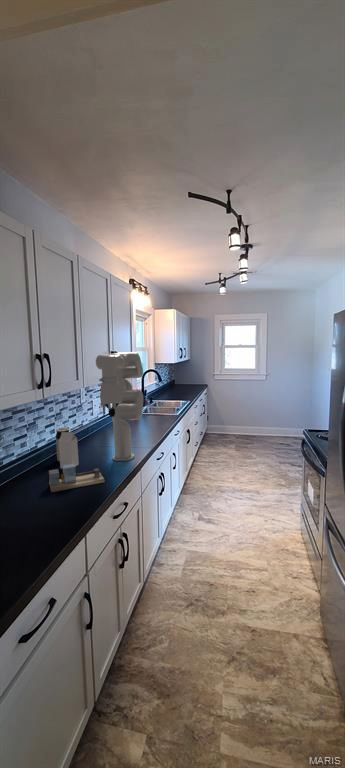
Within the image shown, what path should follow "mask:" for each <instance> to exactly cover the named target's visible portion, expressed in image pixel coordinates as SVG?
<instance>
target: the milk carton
mask: <svg viewBox="0 0 345 768" xmlns="http://www.w3.org/2000/svg"><path fill="white" fill-rule="evenodd" d="M59 454H60V461H59V464H60V469H62V470H63V465H66V464H72V463H74V466H75V468H76V467H77V466H79V464H80V461H79V447H78V437H76V435H75V433H74V432H72V431H71V432H70V431H69V432H61V437H60V439H59Z"/></svg>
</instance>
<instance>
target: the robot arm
mask: <svg viewBox="0 0 345 768" xmlns="http://www.w3.org/2000/svg"><path fill="white" fill-rule="evenodd" d="M95 366H96V368H97V369H98V370H101V378H99V382H101V383H100V384H101V385H100V395H99V396H100V406H101V407H105V408H107V411H108V415H109V417H110V418H111V419H112V425H113V441H114V444H113V445H114V454H113V455H112V456H111V457H112V460H114V461H115V462H126V461H131V460H133V459H135V454H134V453H132V435H131V434H132V433H131V432H132V431H131V426H130V424H129V422H127V421H139V420H141V418H142V416H143V408H144V394H143V392H142V390H140V389H133V385H132V383H131V382H130V381H128V379H140V378H142V377H143V376H144V375H143V374H144V368H143V367H144V366H143V364H142V360H141V356H140V354H139V353H138V352H136V351H130V352H129V351H128V352H127V351H125V352H123V351H122V352H113V353H107V354H106V353H105V354H99V355H97V356H96V358H95ZM111 405H112V406H111Z"/></svg>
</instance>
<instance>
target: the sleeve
mask: <svg viewBox="0 0 345 768" xmlns="http://www.w3.org/2000/svg"><path fill="white" fill-rule="evenodd" d="M62 474H63V476H64V482H65V484H66V483H72V482H76V477H77V476H76V474H77V473H76V467H75V466H74V463H72V464H66V465H63V469H62Z"/></svg>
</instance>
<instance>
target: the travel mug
mask: <svg viewBox="0 0 345 768" xmlns="http://www.w3.org/2000/svg"><path fill="white" fill-rule="evenodd" d="M55 432H56V434H55V445H56V457H57V459H56V460H57V461H58V462H60V454H59V439H60V437H61V432H70V428H69V427H60V428H57V429H55Z"/></svg>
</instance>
